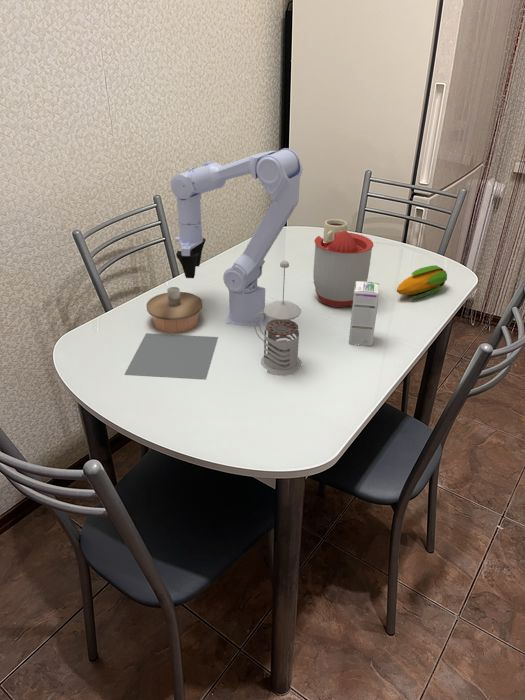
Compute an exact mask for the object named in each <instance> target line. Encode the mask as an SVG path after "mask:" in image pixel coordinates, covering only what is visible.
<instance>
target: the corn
mask: <svg viewBox="0 0 525 700" xmlns="http://www.w3.org/2000/svg"><path fill="white" fill-rule="evenodd" d="M447 279H448V274H447V271H446V270H445V269H444V268H442V267H440V266H438V265H437V264H436V265H428V266H423V267H421V268H418V269H416V270H414V271H412V273H411V275H410V276H408V277H407V278H405V279H404V280H403V281H401V283H399V284H398V286H397V289H396V292H397V294H399V295H403V296H404V295H407V296H408V295H409V296H412V295H414V296H412V297H411V298H410V299H411V300H417V299H420V298H422V297H425V296H429V295H430V294H434V293H436V292H437V293H438V292H439V291H440V290H441V289H442V287H444V285H445V283H446V281H447ZM423 292H424V293H423ZM417 294H418V295H417Z"/></svg>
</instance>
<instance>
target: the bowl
mask: <svg viewBox="0 0 525 700" xmlns="http://www.w3.org/2000/svg"><path fill="white" fill-rule="evenodd" d="M152 322H153V325H154V327H155V328H156V329H158V330H160V331H163V332H167V333H168V332H169V333H181V332H184V331H189V330H191V329H192V328H194V327H196V326H197V325H198V322H199V313H197V314H196V315H194V316H191V317H189V318H185V319H179V320H164V319H159V318H156V317H153V316H152Z"/></svg>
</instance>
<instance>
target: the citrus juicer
mask: <svg viewBox="0 0 525 700" xmlns="http://www.w3.org/2000/svg"><path fill="white" fill-rule="evenodd" d="M314 244H315V245H314V247H315V248H314V259H313V278H312V279H313V284H314V288H315V289H314V290H315V293H316V296H317V300H318V301H320V302H321V303H323V304H325V305H328V306H332V307H334V308H339V307H340V308H342V307H343V308H345V307H350V306H351V307H352V306H353V297H354V288H355V284H356V281H363V282H368V279H369V272H370V266H371V258H372V250H373V248H374V242H373V241H372V239H370V238H368V237H367V236H364V235H362V234H358V233H353V232H348V230H347V231H342V232H335V236H334V240H333V241H331V242H328V243H326V242H324V240H323V237H322V236H321V235H318V236H316V237H315V238H314Z"/></svg>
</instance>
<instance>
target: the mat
mask: <svg viewBox="0 0 525 700" xmlns="http://www.w3.org/2000/svg"><path fill="white" fill-rule="evenodd" d="M218 339H219V336H206V335H205V336H203V335H189V334H188V335H187V334H185V335H183V334H172V333H171V334H169V333H168V334H167V333H166V334H165V333H150V332H149V333H148V332H146V333H145V334H144V336H143V339H142V341H141V342H140V343H139V346H138V348H137V350H136V352H135V353H134V355H133V358H132V359H131V361H130V363H129V365H128V367H127V369H126V371H125V372H124V375H125V376H138V377H155V378H171V379H172V378H173V379H187V380H188V379H191V380H204V381H205V380H207V377H208V373H209V370H210V367H211V363H212V360H213V357H214V353H215V350H216V346H217V343H218Z"/></svg>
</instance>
